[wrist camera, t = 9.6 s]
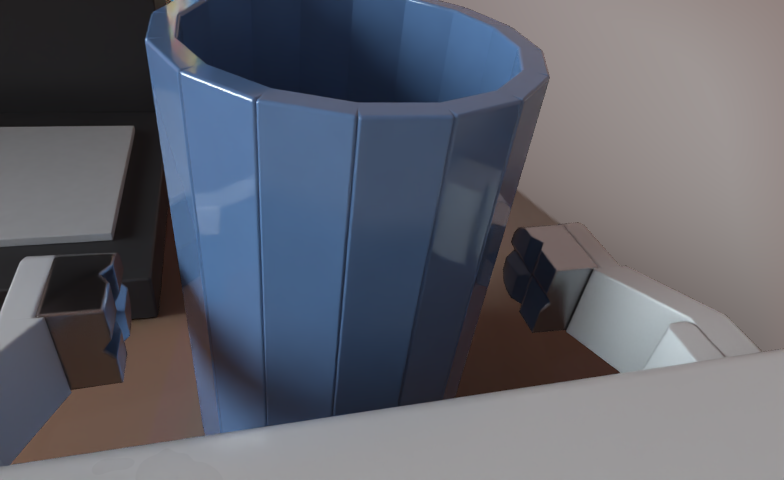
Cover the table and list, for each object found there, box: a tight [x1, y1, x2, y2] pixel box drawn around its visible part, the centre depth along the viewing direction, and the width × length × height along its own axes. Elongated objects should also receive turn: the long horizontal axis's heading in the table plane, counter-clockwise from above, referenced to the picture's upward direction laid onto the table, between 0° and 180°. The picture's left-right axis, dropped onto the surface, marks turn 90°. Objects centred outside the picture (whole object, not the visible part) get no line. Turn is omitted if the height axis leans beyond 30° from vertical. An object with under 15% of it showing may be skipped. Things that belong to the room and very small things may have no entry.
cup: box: [145, 0, 550, 435], centre depth 12 cm, size 6×6×10 cm
